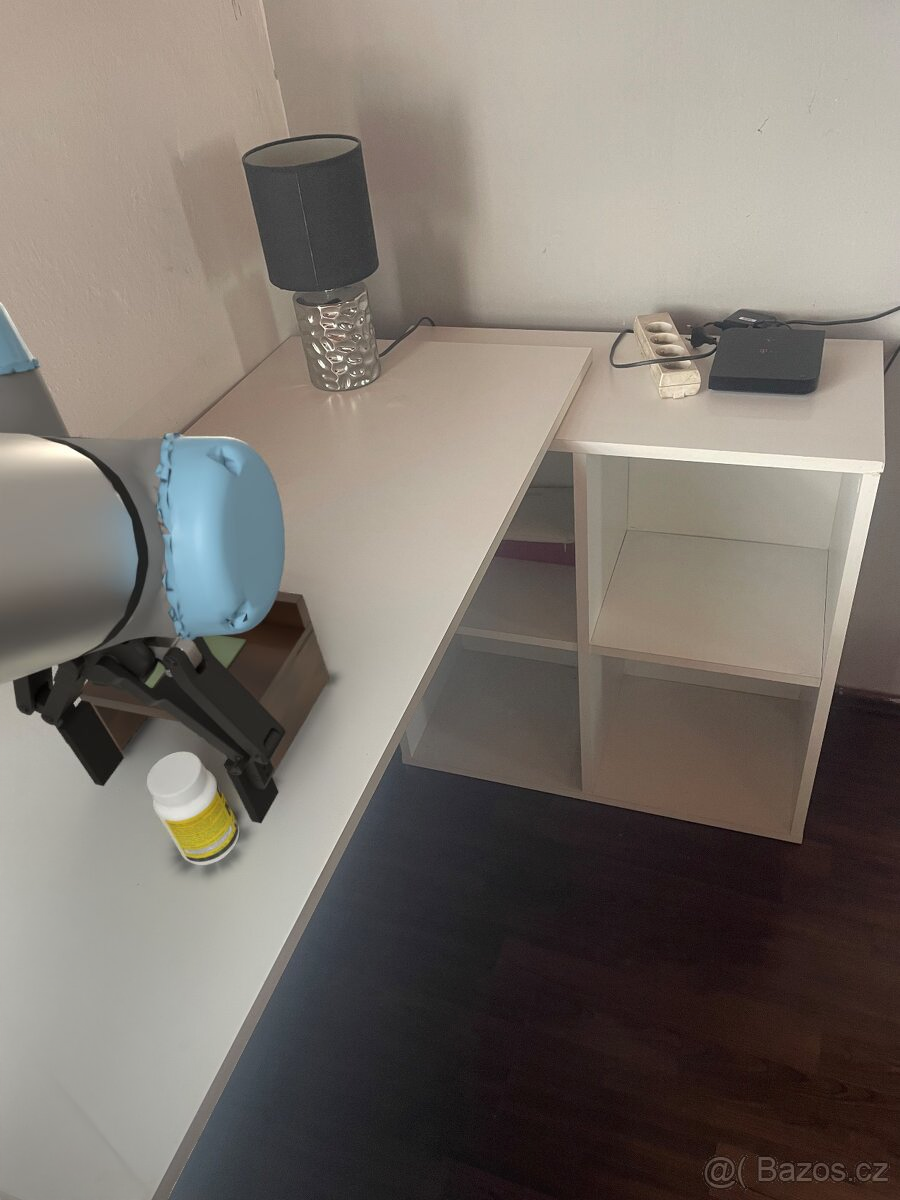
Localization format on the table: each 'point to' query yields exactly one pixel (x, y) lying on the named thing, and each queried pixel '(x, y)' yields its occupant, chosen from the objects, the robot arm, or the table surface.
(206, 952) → the table surface
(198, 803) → the supplement bottle
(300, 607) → the shelf
